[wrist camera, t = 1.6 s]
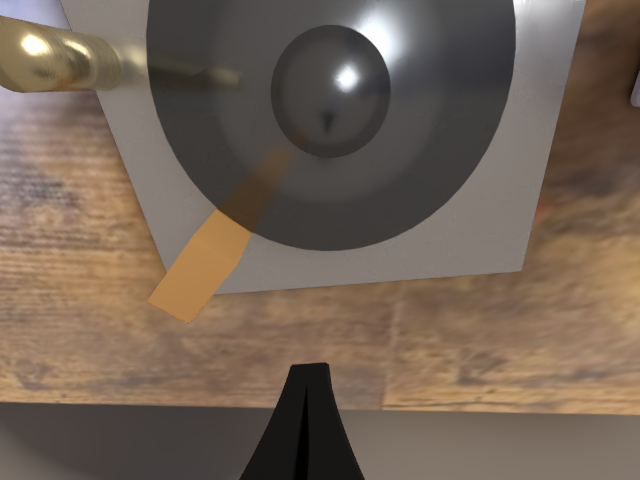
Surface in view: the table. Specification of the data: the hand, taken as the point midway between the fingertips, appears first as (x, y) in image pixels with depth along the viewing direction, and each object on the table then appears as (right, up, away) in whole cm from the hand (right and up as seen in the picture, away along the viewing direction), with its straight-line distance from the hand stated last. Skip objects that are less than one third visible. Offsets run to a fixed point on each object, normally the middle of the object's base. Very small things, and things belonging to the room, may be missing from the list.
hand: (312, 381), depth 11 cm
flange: (-1, +10, +2) cm, 10 cm away
